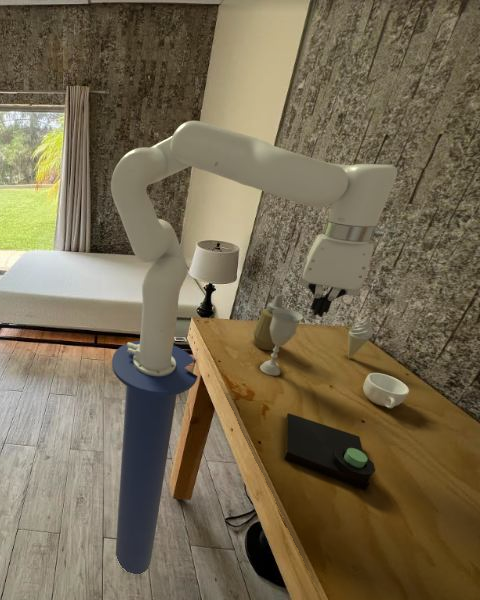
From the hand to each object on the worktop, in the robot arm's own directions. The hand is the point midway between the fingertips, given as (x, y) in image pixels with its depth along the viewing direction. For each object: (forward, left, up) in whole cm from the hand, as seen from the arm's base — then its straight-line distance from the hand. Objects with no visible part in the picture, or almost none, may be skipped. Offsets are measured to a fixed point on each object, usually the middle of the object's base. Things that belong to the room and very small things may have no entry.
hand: (317, 313), depth 70 cm
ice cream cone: (+15, +27, -24) cm, 40 cm away
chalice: (-5, +9, -24) cm, 26 cm away
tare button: (+10, -19, -20) cm, 30 cm away
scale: (+6, -16, -24) cm, 29 cm away
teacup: (+19, +8, -24) cm, 32 cm away
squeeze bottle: (-7, +22, -24) cm, 33 cm away
